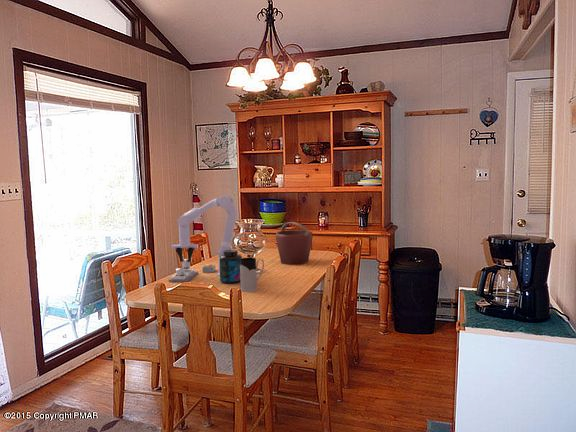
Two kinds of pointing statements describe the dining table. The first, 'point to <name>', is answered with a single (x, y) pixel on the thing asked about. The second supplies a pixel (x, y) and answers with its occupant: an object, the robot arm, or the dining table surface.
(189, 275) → the pallet board
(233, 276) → the container
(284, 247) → the bucket
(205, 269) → the console
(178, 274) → the seated billet
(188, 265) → the billet
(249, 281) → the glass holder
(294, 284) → the dining table surface
